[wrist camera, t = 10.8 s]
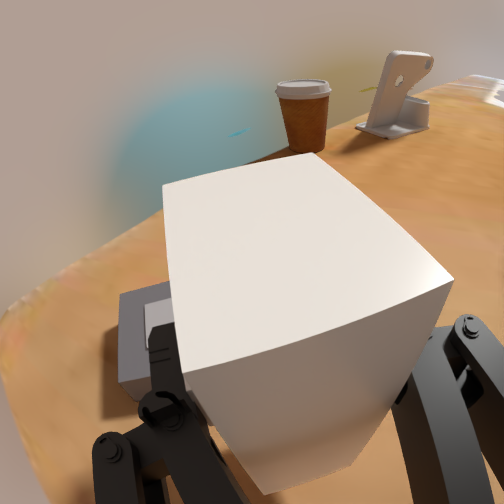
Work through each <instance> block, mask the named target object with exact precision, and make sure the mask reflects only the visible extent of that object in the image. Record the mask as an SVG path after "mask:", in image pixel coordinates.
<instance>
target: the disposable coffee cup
mask: <svg viewBox="0 0 504 504" xmlns="http://www.w3.org/2000/svg"><path fill="white" fill-rule="evenodd" d="M330 92H331V89H330V87H329V84H328V82H327V81H323V80H313V79H300V80H290V81H284V82H280V83H278V84H277V90H276V91H275V93H276V94H277V96H278V97H279V102H280V106H281V110H282V115H283V119H284V123H285V128H286V132H287V137H288V142H289V146H290V149H291V150H292V151H295V152H300V153H313V152H318V151H321V150H323V149H324V147H325V136H326V125H327V115H328V102H329V95H330Z"/></svg>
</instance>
